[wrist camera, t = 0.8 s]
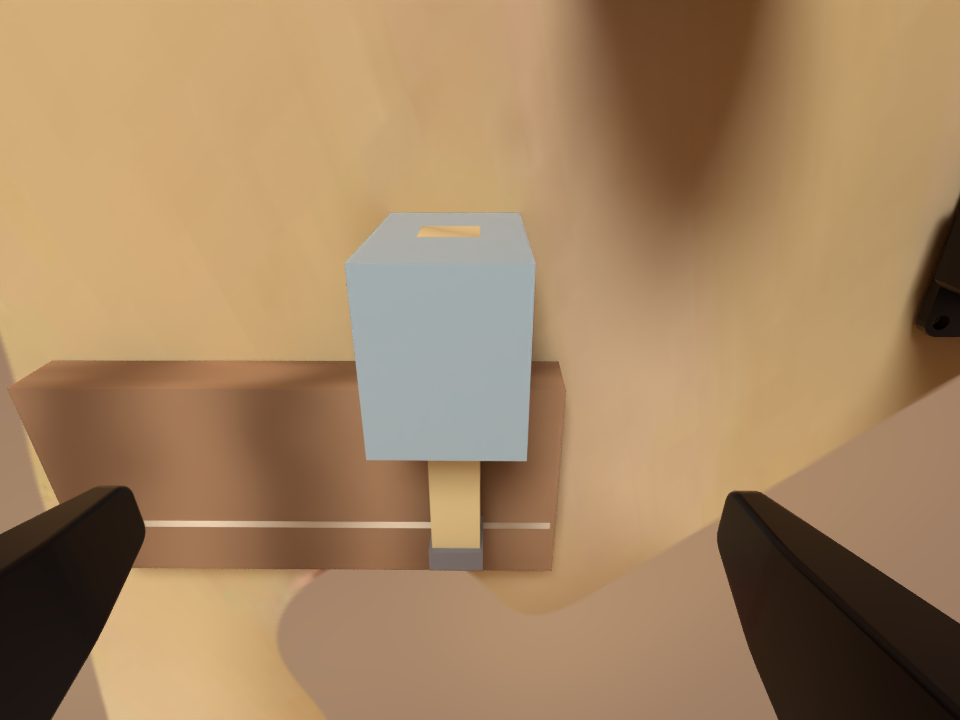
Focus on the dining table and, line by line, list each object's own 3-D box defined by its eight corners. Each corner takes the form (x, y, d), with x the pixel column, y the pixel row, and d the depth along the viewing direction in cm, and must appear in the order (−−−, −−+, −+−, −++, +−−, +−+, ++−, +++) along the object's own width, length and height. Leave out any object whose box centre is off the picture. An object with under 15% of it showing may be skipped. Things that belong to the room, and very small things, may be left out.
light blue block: (519, 212, 17) (535, 264, 11) (510, 499, 21) (519, 632, 16) (391, 212, 17) (344, 263, 11) (411, 498, 21) (385, 631, 16)
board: (558, 361, 19) (566, 390, 17) (546, 532, 22) (551, 572, 21) (52, 360, 19) (5, 389, 17) (119, 530, 23) (87, 568, 21)
